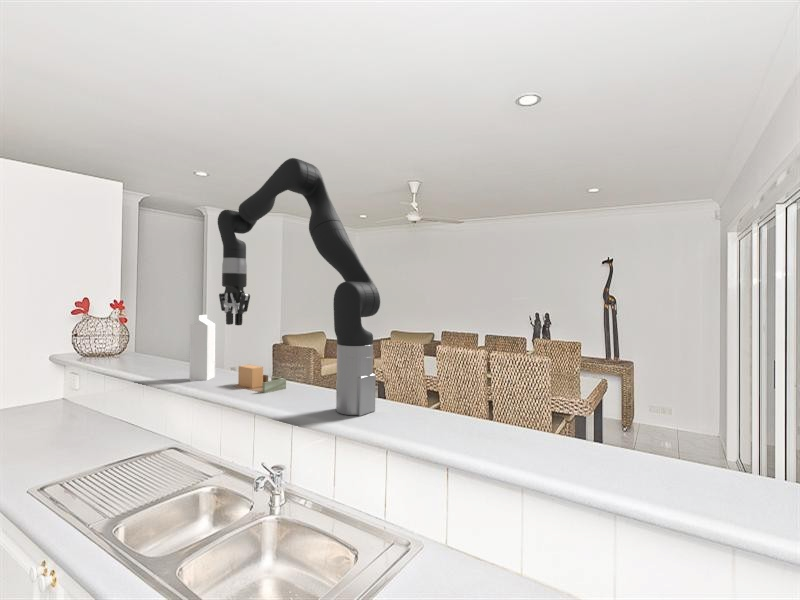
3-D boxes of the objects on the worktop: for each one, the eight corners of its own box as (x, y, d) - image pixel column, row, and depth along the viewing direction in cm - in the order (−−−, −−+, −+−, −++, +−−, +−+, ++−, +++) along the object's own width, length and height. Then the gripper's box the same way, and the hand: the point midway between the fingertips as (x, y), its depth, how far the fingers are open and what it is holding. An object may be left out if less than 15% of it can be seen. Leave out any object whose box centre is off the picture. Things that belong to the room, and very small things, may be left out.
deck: (286, 390, 138) (286, 378, 138) (264, 394, 131) (264, 382, 131) (253, 383, 147) (253, 372, 147) (231, 387, 140) (231, 376, 140)
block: (262, 385, 141) (263, 366, 141) (252, 388, 138) (252, 368, 137) (249, 383, 145) (249, 364, 145) (238, 384, 142) (238, 366, 141)
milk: (189, 381, 148) (189, 315, 148) (198, 377, 155) (198, 314, 154) (207, 381, 148) (207, 315, 148) (215, 378, 154) (215, 314, 154)
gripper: (257, 272, 145) (257, 325, 145) (231, 273, 153) (231, 323, 153) (237, 271, 139) (237, 326, 139) (211, 272, 147) (210, 324, 147)
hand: (234, 324), depth 146 cm, fingers open, 4 cm apart
